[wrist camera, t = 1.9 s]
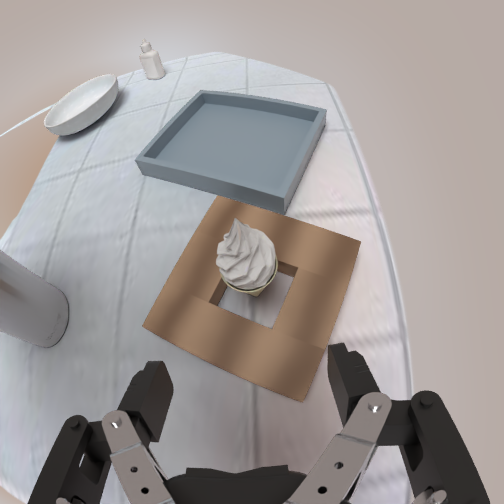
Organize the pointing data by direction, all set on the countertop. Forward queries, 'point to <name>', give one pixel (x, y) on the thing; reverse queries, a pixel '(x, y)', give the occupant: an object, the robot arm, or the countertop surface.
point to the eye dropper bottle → (151, 62)
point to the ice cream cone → (246, 259)
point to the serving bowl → (82, 105)
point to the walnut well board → (241, 329)
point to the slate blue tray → (237, 147)
